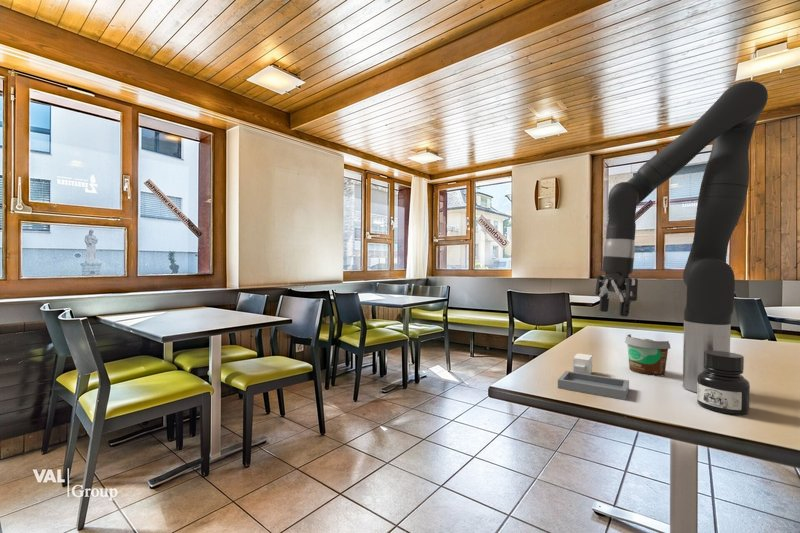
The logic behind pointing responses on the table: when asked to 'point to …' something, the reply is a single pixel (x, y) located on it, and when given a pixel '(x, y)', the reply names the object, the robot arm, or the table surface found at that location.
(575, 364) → the plug
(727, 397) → the ink bottle
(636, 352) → the food container
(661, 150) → the robot arm
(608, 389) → the tray
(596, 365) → the table surface
